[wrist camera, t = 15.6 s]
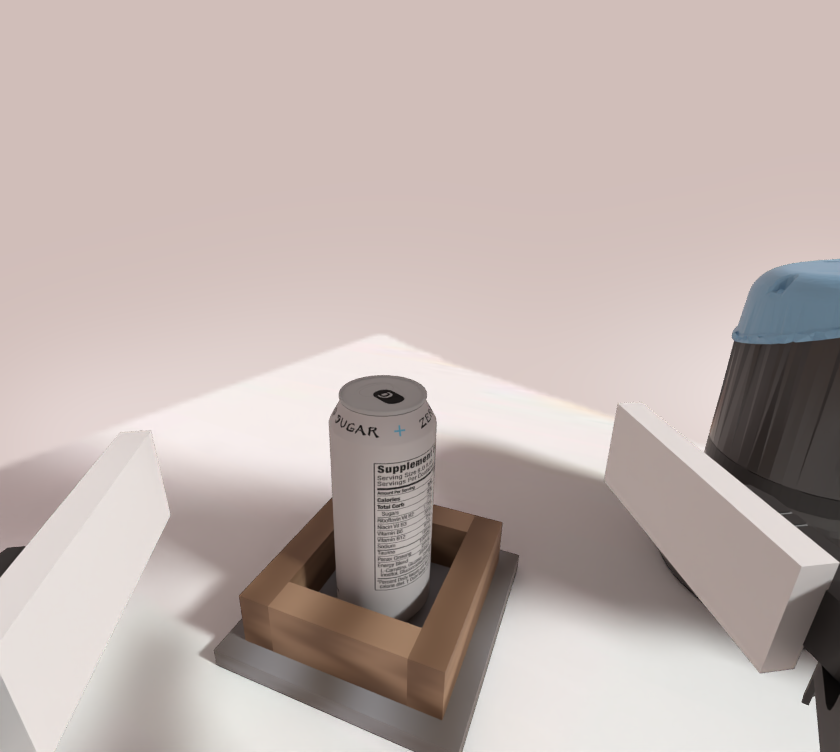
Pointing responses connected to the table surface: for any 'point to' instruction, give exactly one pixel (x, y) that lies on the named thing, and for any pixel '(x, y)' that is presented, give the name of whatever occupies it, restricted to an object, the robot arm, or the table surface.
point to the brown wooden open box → (379, 634)
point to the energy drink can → (383, 493)
